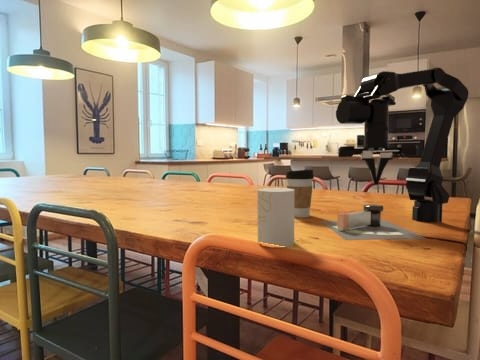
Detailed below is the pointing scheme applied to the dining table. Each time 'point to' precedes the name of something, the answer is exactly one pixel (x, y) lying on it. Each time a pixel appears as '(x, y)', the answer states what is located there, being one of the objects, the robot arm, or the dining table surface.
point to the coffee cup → (301, 190)
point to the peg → (361, 217)
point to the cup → (276, 216)
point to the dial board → (373, 232)
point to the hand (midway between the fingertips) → (375, 184)
